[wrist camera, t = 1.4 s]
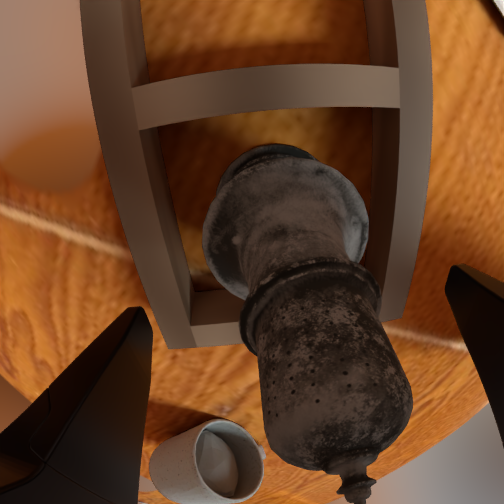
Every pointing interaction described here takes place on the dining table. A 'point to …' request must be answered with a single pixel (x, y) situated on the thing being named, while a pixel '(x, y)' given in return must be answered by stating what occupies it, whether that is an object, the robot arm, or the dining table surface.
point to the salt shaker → (309, 311)
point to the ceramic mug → (208, 465)
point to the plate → (499, 6)
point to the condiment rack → (250, 100)
